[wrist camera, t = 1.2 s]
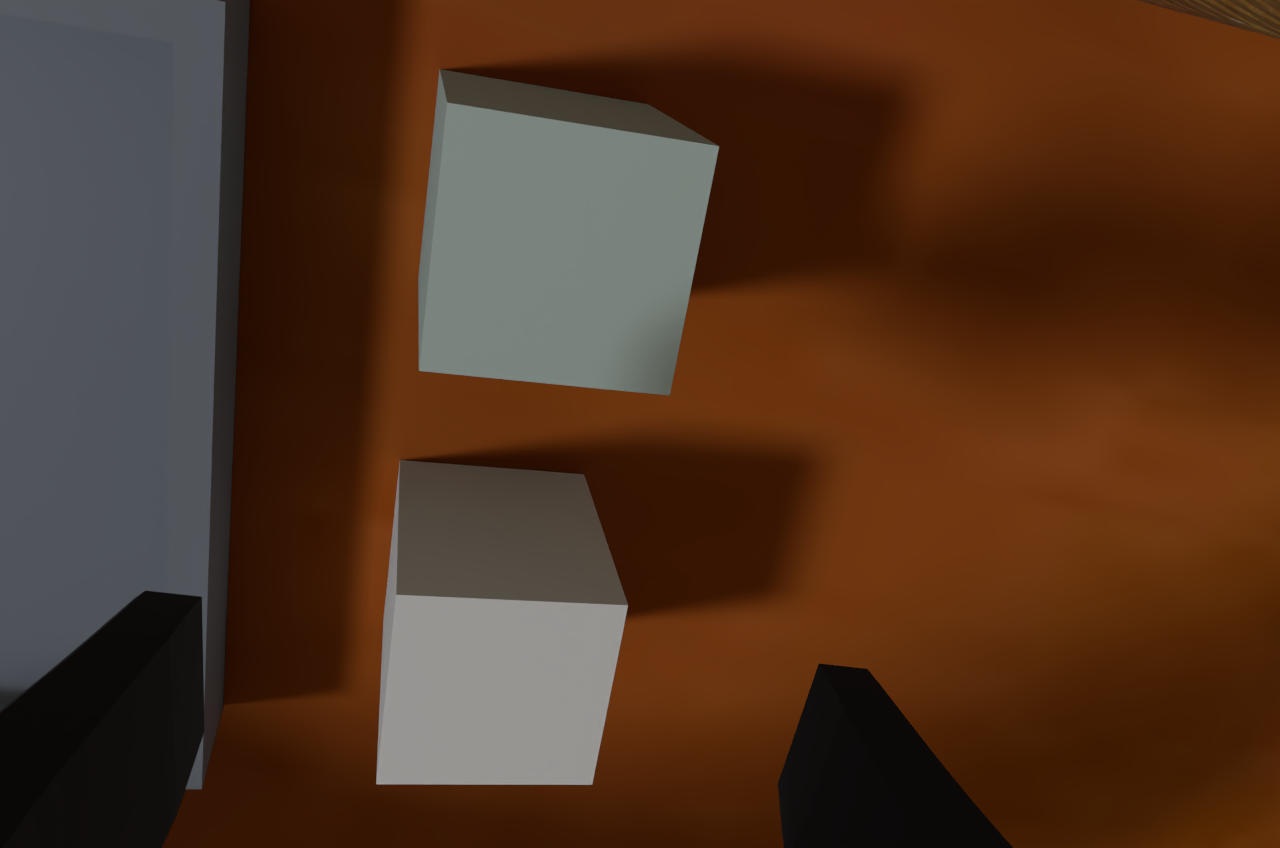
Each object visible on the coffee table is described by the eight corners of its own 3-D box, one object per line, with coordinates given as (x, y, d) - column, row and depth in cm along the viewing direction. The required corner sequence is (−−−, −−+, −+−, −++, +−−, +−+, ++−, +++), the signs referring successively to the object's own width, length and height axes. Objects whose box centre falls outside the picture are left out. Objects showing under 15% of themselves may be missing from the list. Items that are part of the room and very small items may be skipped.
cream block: (557, 626, 28) (592, 784, 22) (383, 619, 27) (375, 784, 21) (583, 473, 26) (628, 605, 21) (400, 459, 25) (396, 594, 20)
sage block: (613, 301, 25) (669, 395, 19) (418, 277, 23) (419, 371, 18) (648, 104, 23) (718, 146, 18) (439, 69, 22) (447, 103, 16)
